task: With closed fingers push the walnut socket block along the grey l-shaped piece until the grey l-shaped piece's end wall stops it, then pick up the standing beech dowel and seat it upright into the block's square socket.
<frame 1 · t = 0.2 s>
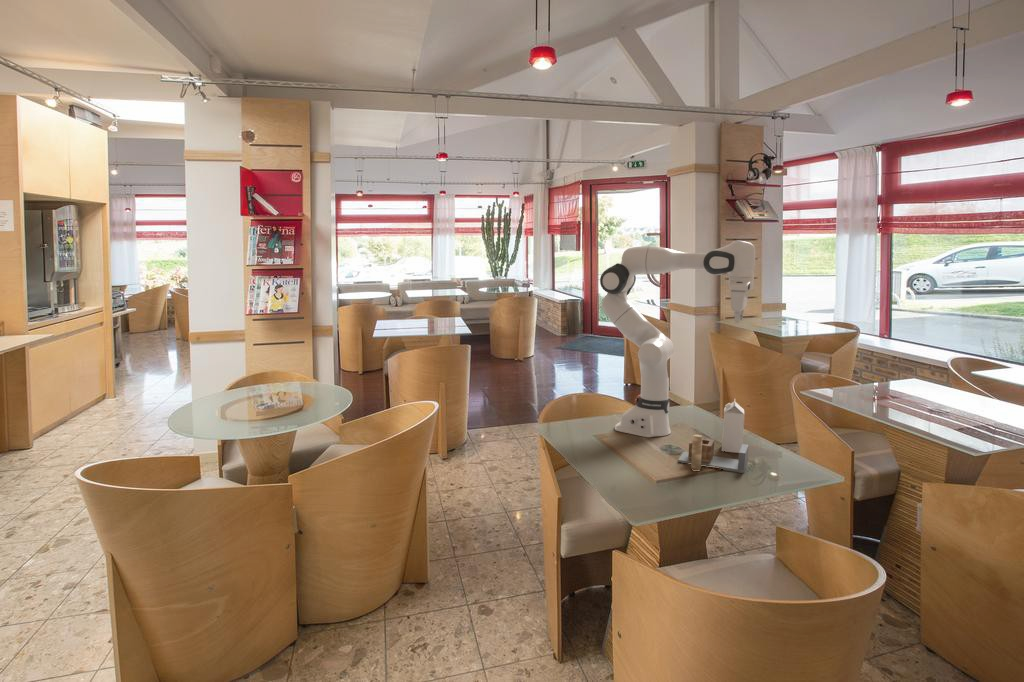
hand: (738, 321, 233), 47 cm above the table, fingers open, 8 cm apart
milk carton: (731, 450, 232), on the table
grey l-shaped piece: (712, 463, 218), on the table
dowel: (695, 470, 211), on the table
block: (701, 449, 219), point 4 cm above the table, slide at 0.0 cm
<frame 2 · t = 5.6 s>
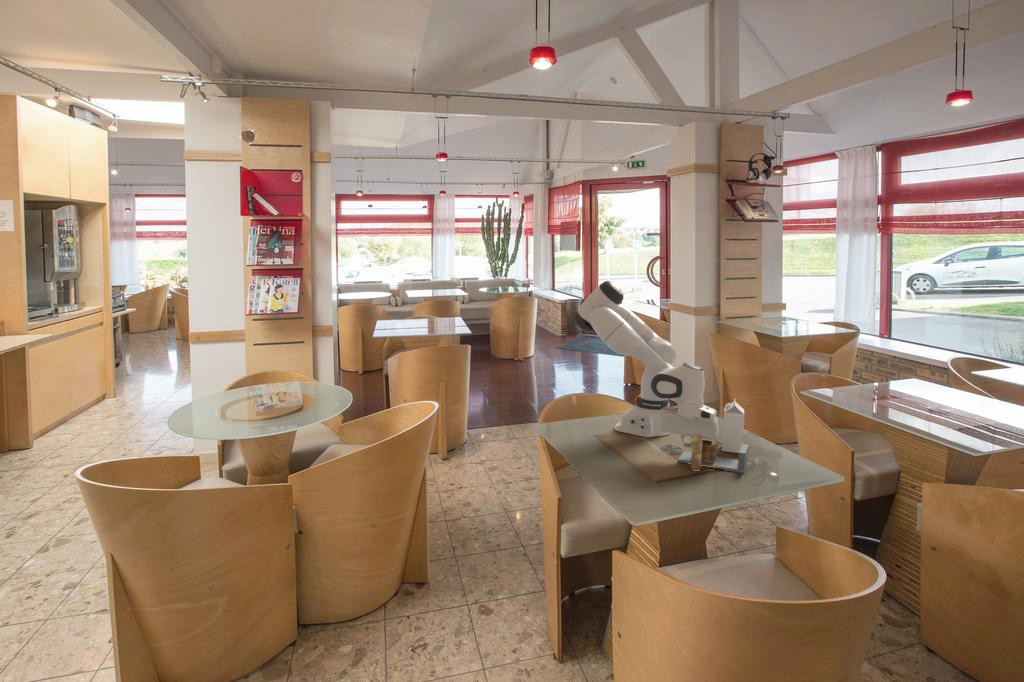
hand: (687, 447, 221), 5 cm above the table, fingers closed
block: (704, 450, 218), point 4 cm above the table, slide at 1.1 cm, touching gripper
everything else where it was.
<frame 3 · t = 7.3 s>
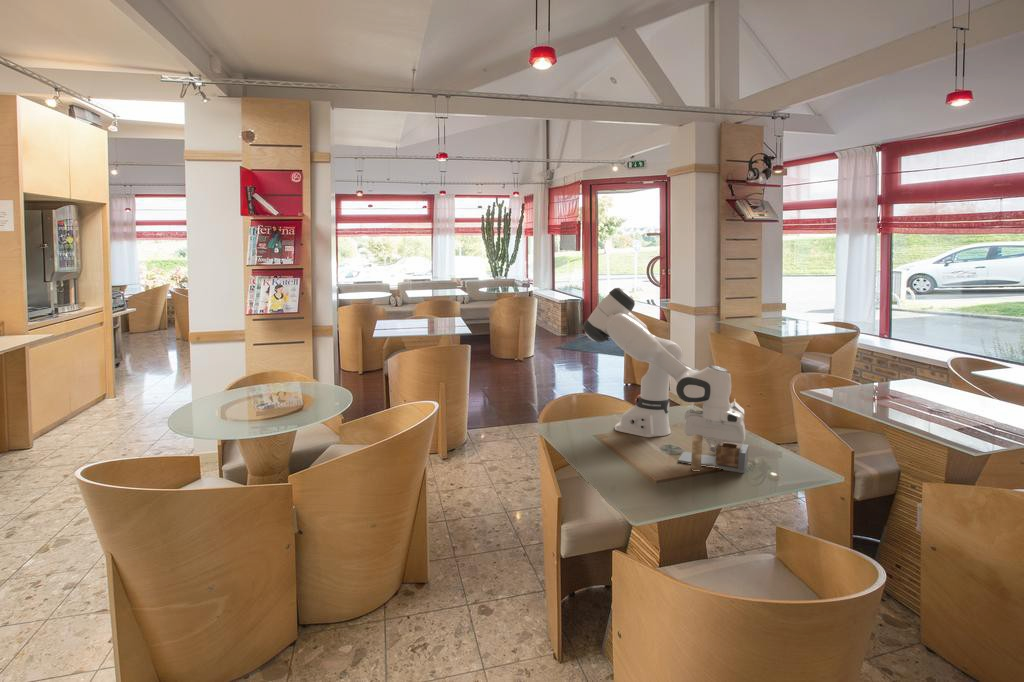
hand: (713, 451, 217), 5 cm above the table, fingers closed
block: (729, 453, 215), point 4 cm above the table, slide at 9.3 cm, touching gripper, grey l-shaped piece
everything else where it was.
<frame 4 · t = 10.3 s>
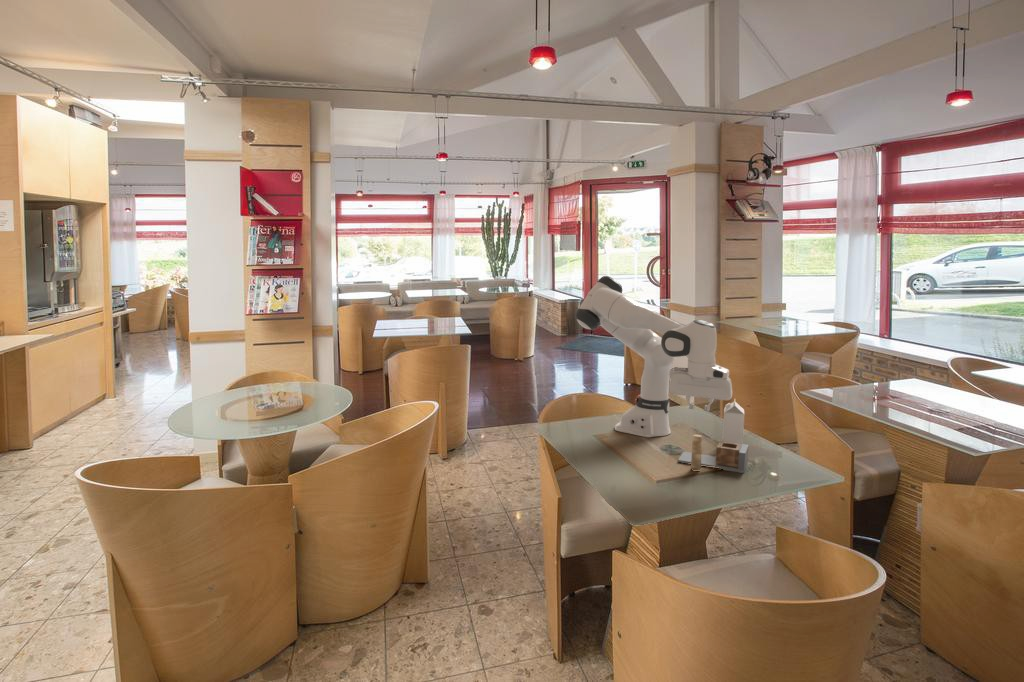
hand: (699, 409, 208), 21 cm above the table, fingers open, 4 cm apart
block: (729, 453, 215), point 4 cm above the table, slide at 9.3 cm, touching grey l-shaped piece
everything else where it was.
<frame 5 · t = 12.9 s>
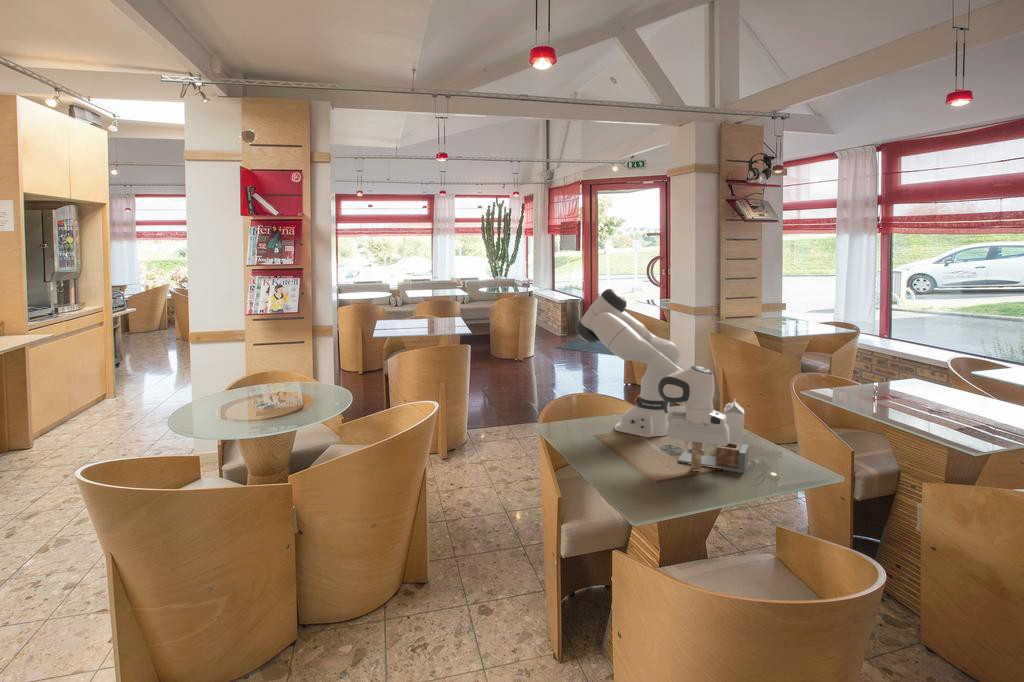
hand: (696, 454, 210), 6 cm above the table, fingers closed on dowel, 3 cm apart
dowel: (695, 470, 211), on the table, touching gripper
everything else where it was.
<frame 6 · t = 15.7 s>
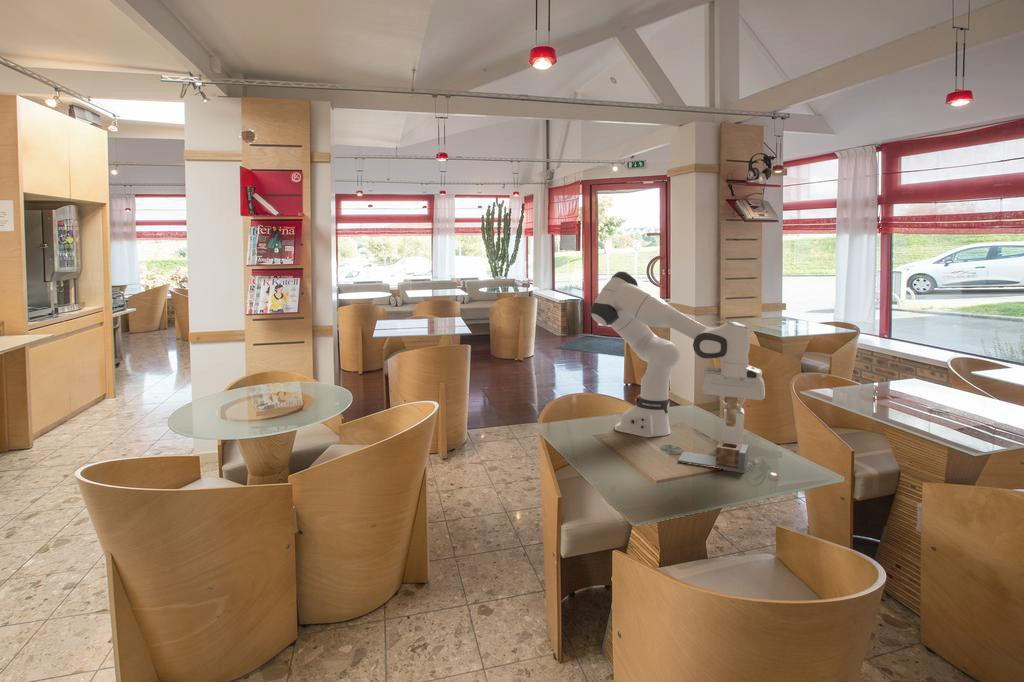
hand: (731, 409, 212), 20 cm above the table, fingers closed on dowel, 3 cm apart
dowel: (730, 425, 213), point 15 cm above the table, touching gripper
everything else where it was.
when the fingers open (9 cm above the table, at t = 18.4 s): dowel drops 1 cm, resting on block.
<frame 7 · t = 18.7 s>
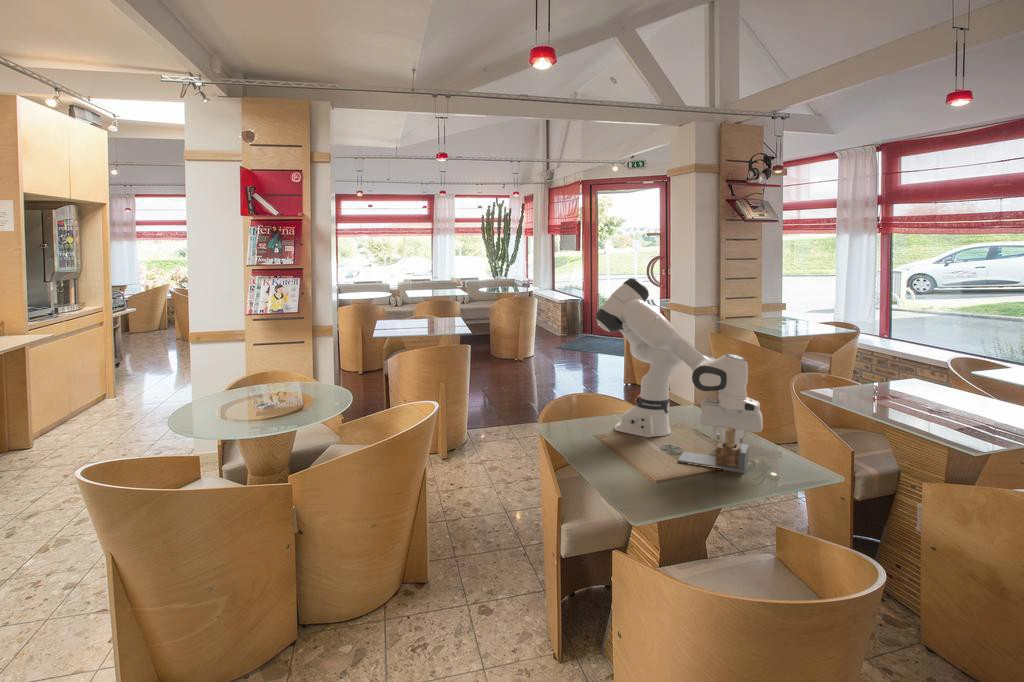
hand: (729, 440, 214), 9 cm above the table, fingers open, 6 cm apart
dowel: (728, 459, 215), point 2 cm above the table, touching block
block: (729, 453, 215), point 4 cm above the table, slide at 9.3 cm, touching dowel
everything else where it was.
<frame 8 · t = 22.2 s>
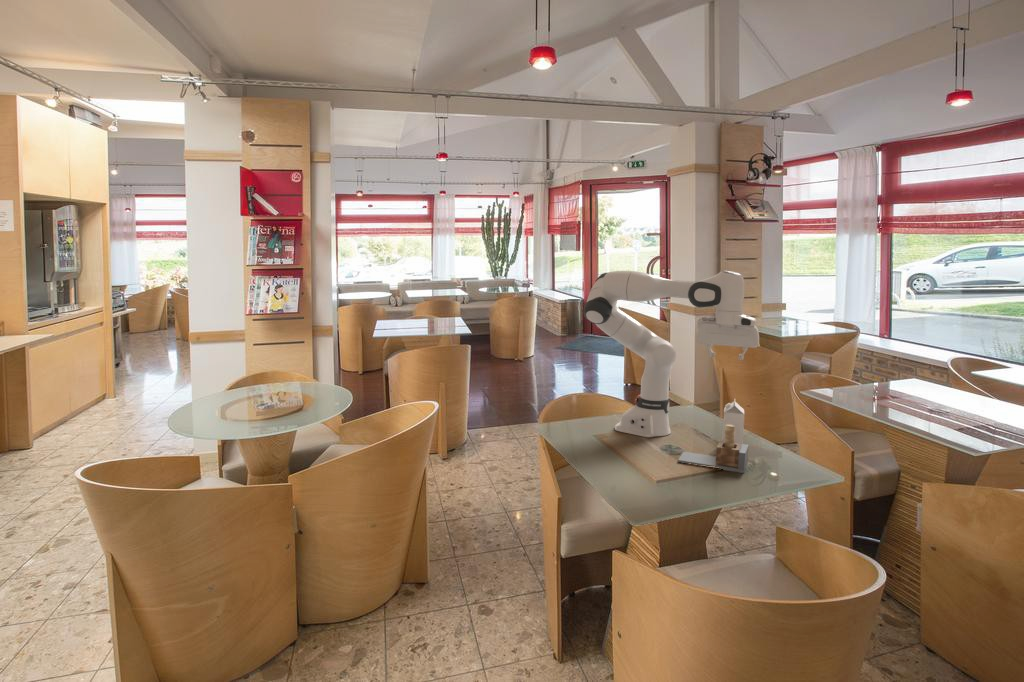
hand: (726, 358, 214), 37 cm above the table, fingers open, 8 cm apart
nothing on the table moved.
at the end: block slide at 9.3 cm; dowel 0.1 cm from the target spot on the block, point 2.3 cm above the block's base; dowel tilted 1° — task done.
